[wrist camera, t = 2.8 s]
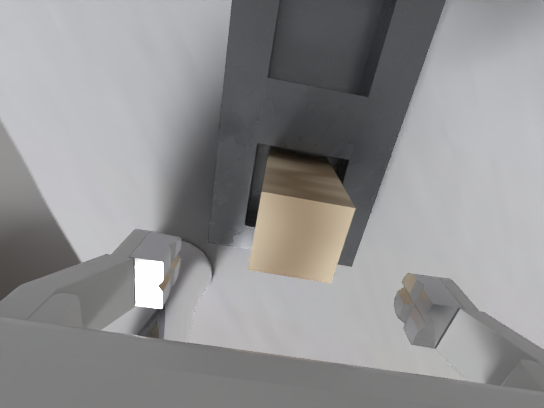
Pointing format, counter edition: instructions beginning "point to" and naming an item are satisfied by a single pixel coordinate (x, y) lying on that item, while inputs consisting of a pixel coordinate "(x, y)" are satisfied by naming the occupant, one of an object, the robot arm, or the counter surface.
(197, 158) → the counter surface
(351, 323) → the counter surface
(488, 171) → the counter surface
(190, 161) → the counter surface
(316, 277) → the beech peg
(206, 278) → the beer glass
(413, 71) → the socket rail
